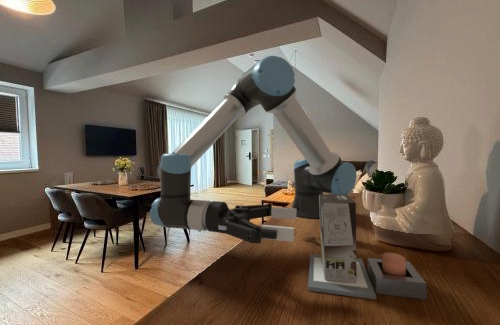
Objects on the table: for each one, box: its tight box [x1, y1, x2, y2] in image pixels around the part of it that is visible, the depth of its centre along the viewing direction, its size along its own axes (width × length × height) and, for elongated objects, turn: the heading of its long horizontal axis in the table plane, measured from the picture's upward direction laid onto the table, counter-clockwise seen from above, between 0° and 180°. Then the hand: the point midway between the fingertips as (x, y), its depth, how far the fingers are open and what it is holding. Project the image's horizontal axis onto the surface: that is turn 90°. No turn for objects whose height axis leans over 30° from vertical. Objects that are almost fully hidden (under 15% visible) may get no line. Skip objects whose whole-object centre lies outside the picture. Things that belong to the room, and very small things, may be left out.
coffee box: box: [319, 193, 357, 283], centre depth 49 cm, size 9×6×16 cm
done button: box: [381, 252, 407, 277], centre depth 45 cm, size 4×4×4 cm
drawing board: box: [307, 253, 377, 301], centre depth 49 cm, size 14×12×1 cm
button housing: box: [366, 257, 428, 300], centre depth 45 cm, size 8×8×3 cm
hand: (295, 223), depth 52 cm, fingers open, 13 cm apart
